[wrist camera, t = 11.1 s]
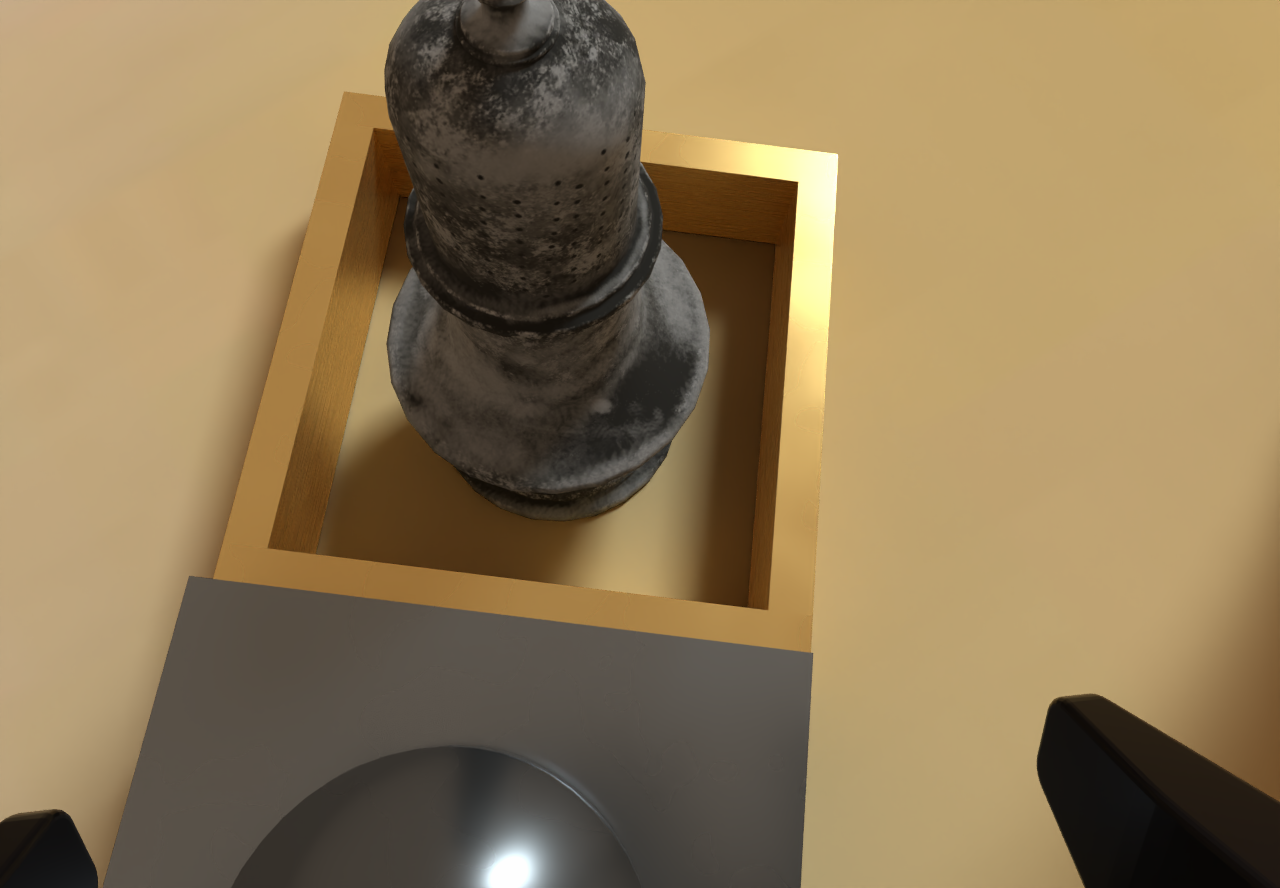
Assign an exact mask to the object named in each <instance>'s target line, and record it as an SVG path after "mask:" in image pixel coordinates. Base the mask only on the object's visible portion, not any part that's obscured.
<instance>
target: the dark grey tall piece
mask: <svg viewBox="0 0 1280 888" xmlns="http://www.w3.org/2000/svg"><path fill="white" fill-rule="evenodd" d="M645 83H646V82H645V78H644V74H643V70H642V66H641V62H640V58H639V54H638V50H637V46H636V41H635V38H634V36H633V35H632V33H631V31H630V30H629V28H628V26H627V25H626V23H625V21H624V20H623V18H622V17H621V15H620V14H619V13H618V12H617V11H616V10H615V9H614V8H612V7H611V6H610V5H609V4H608V3H607V2H606V1H605V0H419V1H418V2H417V3H416V4H415V5H414V6H413V7H412V9H411V10H410V11H409V12H408V14H407V15H406V16H405V17H404V19H403V20H402V22H401V24H400V26H399V27H398V29H397V31H396V33H395V35H394V37H393V38H392V40H391V42H390V44H389V49H388V54H387V60H386V65H385V93H386V101H387V108H388V115H389V119H390V121H391V124H392V127H393V130H394V133H395V136H396V139H397V141H398V144H399V147H400V150H401V153H402V156H403V159H404V161H405V164H406V167H407V170H408V173H409V176H410V178H411V181H412V184H413V189H412V191H411V193H410V195H409V197H408V203H407V208H406V214H405V220H404V233H405V240H406V247H407V255H408V257H409V259H410V262H411V264H412V266H413V267H412V268H411V269H410V271H409V273H408V275H407V277H406V279H405V281H404V283H403V286H402V288H401V290H400V292H399V294H398V296H397V298H396V300H395V302H394V304H393V308H392V314H391V320H390V326H389V332H388V338H387V351H388V360H389V368H390V376H391V383H392V385H393V388H394V390H395V392H396V394H397V397H398V399H399V401H400V404H401V406H402V408H403V410H404V413H405V415H406V417H407V420H408V421H409V422H410V423H411V425H412V426H413V427H414V428H415V429H416V431H417V432H418V433H419V434H420V435H421V437H422V438H423V439H424V440H425V441H426V443H427V444H428V445H429V446H430V447H431V448H432V450H433V451H434V452H435V453H436V454H438V455H439V456H441V457H442V458H444V459H445V460H447V461H448V462H449V463H451V464H452V465H454V467H455V468H456V469H457V470H458V472H459V473H460V474H461V475H462V476H463V478H464V479H465V480H466V481H467V482H468V483H469V485H470V486H471V487H472V488H473V489H474V491H476V492H477V493H479V494H480V495H482V496H483V497H485V498H486V499H488V500H489V501H491V502H492V503H494V504H495V505H496V506H498V507H499V508H501V509H504V510H507V511H510V512H513V513H516V514H518V515H521V516H524V517H527V518H530V519H540V520H554V521H568V520H573V519H579V518H584V517H589V516H595V515H598V514H600V513H602V512H604V511H606V510H608V509H610V508H612V507H615V506H617V505H619V504H621V503H623V502H625V501H626V500H627V499H629V498H630V497H631V496H632V495H633V494H635V493H636V492H637V491H638V490H639V489H641V488H642V487H643V486H644V485H645V484H647V483H648V482H649V481H650V479H651V478H652V476H653V475H654V474H655V472H656V471H657V469H658V468H659V466H660V465H661V463H662V462H663V461H664V459H665V458H666V456H667V453H668V450H669V448H670V445H671V442H672V440H673V438H674V437H675V435H676V434H677V433H678V431H679V430H680V428H681V427H682V425H683V424H684V423H685V421H686V420H687V418H688V417H689V415H690V414H691V412H692V411H693V410H694V408H695V406H696V403H697V400H698V397H699V394H700V391H701V388H702V385H703V382H704V379H705V376H706V373H707V370H708V360H709V338H710V329H709V325H708V320H707V316H706V312H705V308H704V304H703V300H702V296H701V293H700V291H699V289H698V287H697V285H696V284H695V282H694V280H693V278H692V277H691V275H690V273H689V271H688V269H687V268H686V266H685V264H684V262H683V261H682V259H681V258H680V257H679V256H678V255H677V254H676V253H675V252H674V251H673V250H672V249H671V248H670V247H669V246H668V245H667V244H666V243H665V242H664V241H663V240H662V228H663V214H662V210H661V205H660V201H659V197H658V193H657V189H656V187H655V185H654V184H653V182H652V180H651V178H650V177H649V175H648V173H647V172H646V170H645V168H644V166H643V165H642V163H641V162H640V156H641V142H642V127H643V113H644V98H645Z"/></svg>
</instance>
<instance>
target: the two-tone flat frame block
mask: <svg viewBox="0 0 1280 888" xmlns="http://www.w3.org/2000/svg"><path fill="white" fill-rule="evenodd" d="M640 162H641V163H642V165H643V166H644V168H645V170H646V172H647V173H648V175H649V177H650V178H651V180H652V182H653V184H654V185H655V187H656V189H657V193H658V197H659V201H660V205H661V210H662V214H663V228H662V229H663V230H671V231H679V232H687V233H695V234H703V235H711V236H718V237H726V238H734V239H742V240H750V241H758V242H766V243H774V244H776V247H775V260H774V273H773V286H772V299H771V311H770V324H769V337H768V350H767V363H766V376H765V388H764V401H763V414H762V427H761V440H760V453H759V465H758V478H757V491H756V504H755V517H754V530H753V542H752V555H751V568H750V581H749V594H748V607H747V608H745V607H736V606H728V605H720V604H712V603H704V602H696V601H688V600H680V599H672V598H664V597H656V596H648V595H640V594H631V593H623V592H615V591H607V590H599V589H591V588H583V587H575V586H567V585H559V584H551V583H543V582H535V581H527V580H518V579H510V578H502V577H494V576H486V575H478V574H470V573H462V572H454V571H446V570H438V569H430V568H422V567H413V566H405V565H397V564H389V563H381V562H373V561H365V560H357V559H349V558H341V557H333V556H325V555H317V554H316V550H317V546H318V542H319V538H320V533H321V529H322V525H323V521H324V516H325V512H326V508H327V504H328V499H329V495H330V491H331V486H332V482H333V478H334V474H335V469H336V465H337V461H338V457H339V452H340V448H341V444H342V440H343V435H344V431H345V427H346V423H347V418H348V414H349V410H350V406H351V401H352V397H353V393H354V388H355V384H356V380H357V376H358V371H359V367H360V363H361V359H362V354H363V350H364V346H365V342H366V337H367V333H368V329H369V325H370V320H371V316H372V312H373V307H374V303H375V299H376V295H377V290H378V286H379V282H380V278H381V273H382V269H383V265H384V261H385V256H386V252H387V248H388V244H389V239H390V235H391V231H392V226H393V222H394V218H395V214H396V209H397V205H398V201H399V197H400V196H402V197H409V195H410V193H411V191H412V189H413V184H412V181H411V178H410V176H409V173H408V170H407V167H406V164H405V161H404V159H403V156H402V153H401V150H400V147H399V144H398V141H397V139H396V136H395V133H394V130H393V127H392V124H391V121H390V119H389V115H388V108H387V101H386V97H382V96H374V95H367V94H359V93H351V92H344V94H343V97H342V101H341V105H340V109H339V112H338V116H337V120H336V123H335V127H334V131H333V135H332V138H331V142H330V146H329V149H328V153H327V157H326V161H325V164H324V168H323V172H322V175H321V179H320V183H319V187H318V190H317V194H316V198H315V201H314V205H313V209H312V213H311V216H310V220H309V224H308V227H307V231H306V235H305V239H304V242H303V246H302V250H301V253H300V257H299V261H298V265H297V268H296V272H295V276H294V280H293V283H292V287H291V291H290V294H289V298H288V302H287V306H286V309H285V313H284V317H283V320H282V324H281V328H280V332H279V335H278V339H277V343H276V346H275V350H274V354H273V358H272V361H271V365H270V369H269V372H268V376H267V380H266V384H265V387H264V391H263V395H262V398H261V402H260V406H259V410H258V413H257V417H256V421H255V424H254V428H253V432H252V436H251V439H250V443H249V447H248V450H247V454H246V458H245V462H244V465H243V469H242V473H241V476H240V480H239V484H238V488H237V491H236V495H235V499H234V502H233V506H232V510H231V514H230V517H229V521H228V525H227V528H226V532H225V536H224V540H223V543H222V547H221V551H220V554H219V558H218V562H217V566H216V569H215V573H214V577H213V579H210V578H202V577H194V576H189V579H188V582H187V586H186V589H185V593H184V597H183V600H182V604H181V607H180V611H179V615H178V618H177V622H176V625H175V629H174V633H173V636H172V640H171V643H170V647H169V651H168V654H167V658H166V661H165V665H164V669H163V672H162V676H161V679H160V683H159V687H158V690H157V694H156V697H155V701H154V705H153V708H152V712H151V715H150V719H149V723H148V726H147V730H146V733H145V737H144V741H143V744H142V748H141V751H140V755H139V759H138V762H137V766H136V769H135V773H134V777H133V780H132V784H131V787H130V791H129V795H128V798H127V802H126V805H125V809H124V813H123V816H122V820H121V823H120V827H119V831H118V834H117V838H116V841H115V845H114V849H113V852H112V856H111V859H110V863H109V867H108V870H107V874H106V877H105V881H104V884H103V888H801V869H802V850H803V832H804V813H805V795H806V776H807V758H808V739H809V721H810V702H811V683H812V665H813V653H811V638H812V620H813V601H814V583H815V565H816V547H817V528H818V510H819V492H820V474H821V455H822V437H823V419H824V401H825V382H826V364H827V346H828V328H829V309H830V291H831V273H832V254H833V236H834V218H835V200H836V181H837V163H838V154H831V153H823V152H816V151H808V150H800V149H792V148H784V147H776V146H768V145H760V144H753V143H745V142H737V141H729V140H721V139H713V138H705V137H697V136H690V135H682V134H674V133H666V132H658V131H650V130H642V142H641V156H640Z"/></svg>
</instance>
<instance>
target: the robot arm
mask: <svg viewBox="0 0 1280 888" xmlns="http://www.w3.org/2000/svg"><path fill="white" fill-rule="evenodd" d="M1037 772H1038V777H1039V781H1040V784H1041V786H1042V789H1043V791H1044V794H1045V796H1046V798H1047V801H1048V803H1049V805H1050V808H1051V810H1052V812H1053V815H1054V817H1055V819H1056V822H1057V824H1058V826H1059V829H1060V831H1061V833H1062V836H1063V838H1064V840H1065V843H1066V845H1067V847H1068V850H1069V852H1070V854H1071V857H1072V859H1073V861H1074V864H1075V866H1076V868H1077V871H1078V873H1079V875H1080V878H1081V880H1082V882H1083V885H1084V887H1085V888H1280V802H1279V801H1277V800H1275V799H1274V798H1272V797H1270V796H1269V795H1267V794H1265V793H1264V792H1262V791H1260V790H1259V789H1257V788H1255V787H1254V786H1252V785H1250V784H1249V783H1247V782H1245V781H1243V780H1242V779H1240V778H1238V777H1237V776H1235V775H1233V774H1232V773H1230V772H1228V771H1227V770H1225V769H1223V768H1222V767H1220V766H1218V765H1217V764H1215V763H1213V762H1212V761H1210V760H1208V759H1207V758H1205V757H1203V756H1202V755H1200V754H1198V753H1197V752H1195V751H1193V750H1192V749H1190V748H1188V747H1187V746H1185V745H1183V744H1182V743H1180V742H1178V741H1177V740H1175V739H1173V738H1172V737H1170V736H1168V735H1167V734H1165V733H1163V732H1162V731H1160V730H1158V729H1157V728H1155V727H1153V726H1152V725H1150V724H1148V723H1147V722H1145V721H1143V720H1142V719H1140V718H1138V717H1137V716H1135V715H1133V714H1132V713H1130V712H1128V711H1127V710H1125V709H1123V708H1122V707H1120V706H1118V705H1116V704H1115V703H1113V702H1111V701H1110V700H1108V699H1106V698H1104V697H1102V696H1100V695H1097V694H1082V695H1073V696H1064V697H1058V698H1056V699H1054V700H1053V701H1052V703H1051V704H1050V705H1049V708H1048V711H1047V716H1046V720H1045V725H1044V729H1043V733H1042V738H1041V742H1040V747H1039V751H1038V755H1037ZM0 888H98V877H97V871H96V868H95V865H94V863H93V861H92V859H91V857H90V855H89V853H88V851H87V849H86V847H85V845H84V843H83V841H82V839H81V837H80V835H79V833H78V831H77V829H76V827H75V824H74V822H73V820H72V819H71V817H70V816H69V815H68V814H67V813H65V812H64V811H62V810H57V809H53V810H44V811H35V812H26V813H18V814H15V815H12V816H10V817H8V818H6V819H4V820H3V821H2V822H0Z"/></svg>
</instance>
